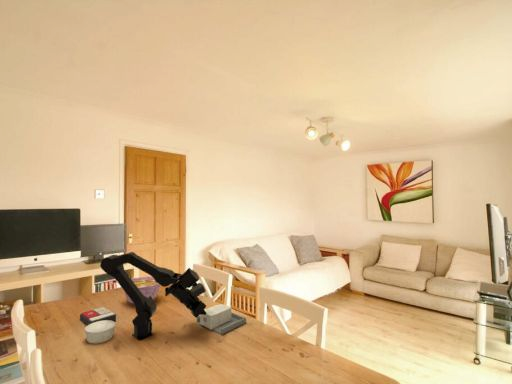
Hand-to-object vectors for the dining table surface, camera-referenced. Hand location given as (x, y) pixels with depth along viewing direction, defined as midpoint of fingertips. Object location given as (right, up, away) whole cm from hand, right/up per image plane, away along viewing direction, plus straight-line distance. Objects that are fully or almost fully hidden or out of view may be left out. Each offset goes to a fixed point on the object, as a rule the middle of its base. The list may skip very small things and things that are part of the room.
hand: (205, 313), depth 128 cm
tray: (+6, -7, +6) cm, 11 cm away
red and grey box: (-53, -7, +6) cm, 54 cm away
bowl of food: (-42, -7, +30) cm, 52 cm away
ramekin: (-43, -6, -10) cm, 44 cm away
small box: (0, -3, 0) cm, 3 cm away
